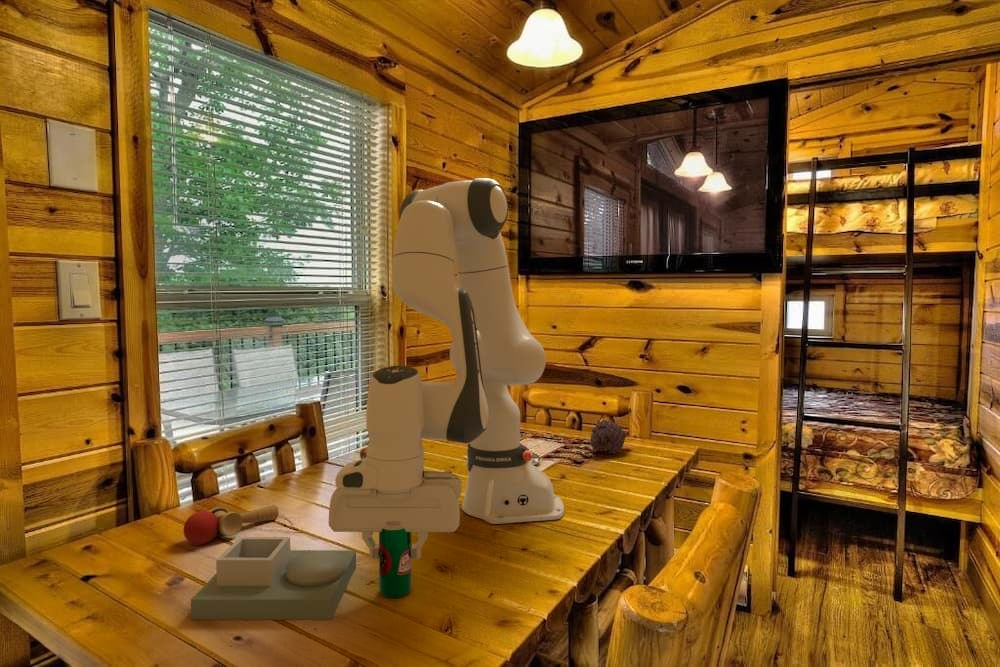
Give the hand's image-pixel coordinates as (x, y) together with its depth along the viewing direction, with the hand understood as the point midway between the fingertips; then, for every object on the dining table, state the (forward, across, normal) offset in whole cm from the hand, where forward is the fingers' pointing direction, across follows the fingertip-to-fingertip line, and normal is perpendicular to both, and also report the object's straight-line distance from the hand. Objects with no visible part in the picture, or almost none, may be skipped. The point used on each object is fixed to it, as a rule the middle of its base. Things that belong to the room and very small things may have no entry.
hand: (395, 556), depth 92 cm
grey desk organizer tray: (+6, +18, 0) cm, 19 cm away
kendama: (+6, +35, -23) cm, 42 cm away
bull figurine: (+6, +13, -62) cm, 64 cm away
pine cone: (+6, -50, -80) cm, 94 cm away
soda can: (+6, 0, 0) cm, 6 cm away
